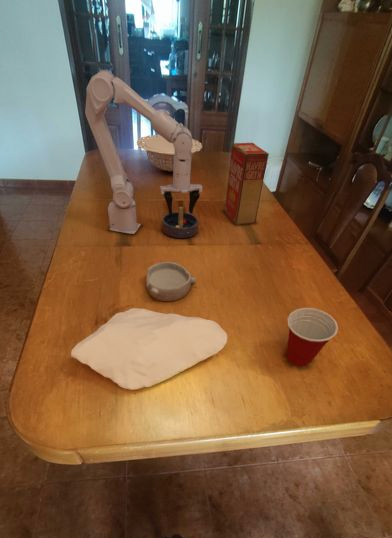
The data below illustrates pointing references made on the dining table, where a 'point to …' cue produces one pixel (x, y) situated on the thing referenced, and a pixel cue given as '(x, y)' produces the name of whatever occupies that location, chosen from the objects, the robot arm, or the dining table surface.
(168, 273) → the dish
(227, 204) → the food packaging
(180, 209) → the stick
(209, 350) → the crumpled cloth
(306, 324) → the plastic cup
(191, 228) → the bowl
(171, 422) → the dining table surface
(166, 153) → the woven basket
